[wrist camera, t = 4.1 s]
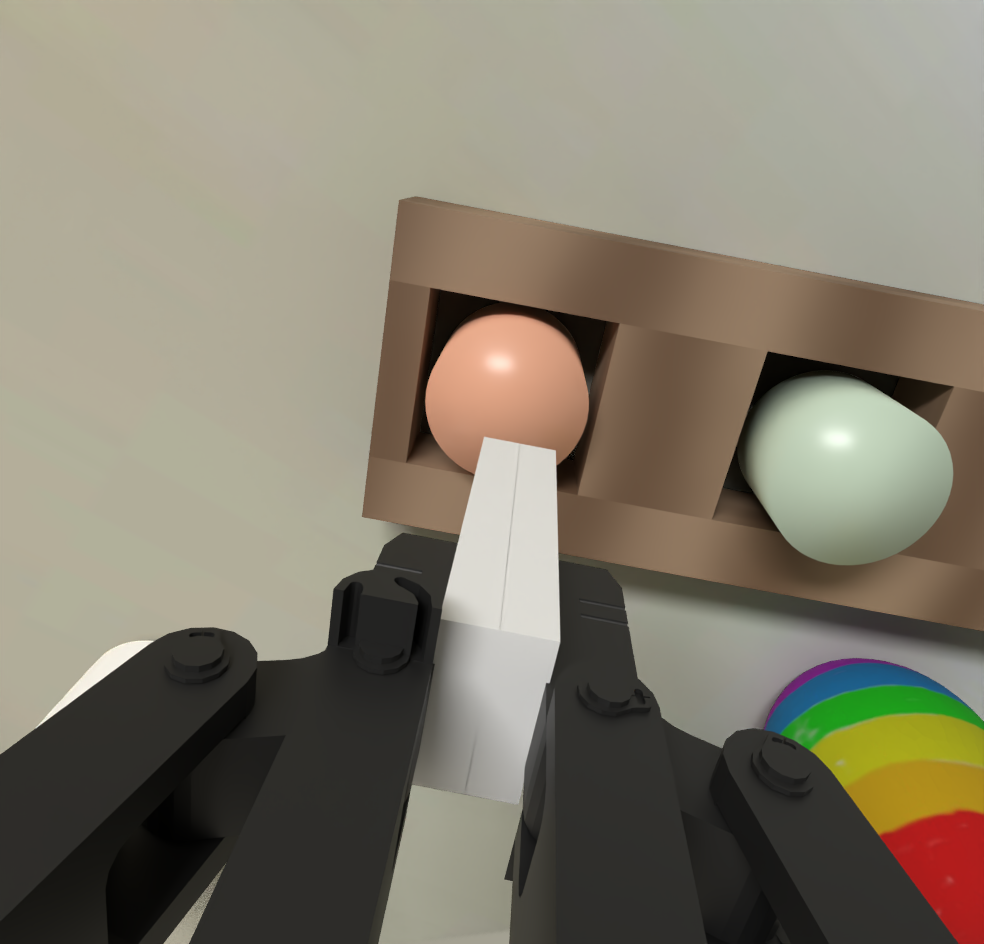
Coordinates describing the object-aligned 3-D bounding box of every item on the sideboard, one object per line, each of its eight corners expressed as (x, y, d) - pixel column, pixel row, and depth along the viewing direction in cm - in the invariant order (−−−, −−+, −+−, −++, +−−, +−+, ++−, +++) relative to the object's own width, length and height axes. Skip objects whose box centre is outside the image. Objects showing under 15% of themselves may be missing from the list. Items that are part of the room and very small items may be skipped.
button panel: (1273, 359, 23) (1372, 385, 20) (1114, 616, 27) (1180, 667, 24) (415, 196, 23) (399, 200, 20) (380, 480, 27) (362, 516, 24)
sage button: (915, 385, 22) (984, 424, 19) (858, 521, 24) (911, 578, 21) (764, 356, 22) (805, 391, 19) (718, 495, 24) (748, 549, 21)
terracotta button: (596, 316, 24) (605, 341, 20) (565, 450, 26) (569, 493, 22) (452, 289, 24) (437, 309, 20) (431, 426, 25) (415, 465, 22)
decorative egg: (707, 679, 29) (784, 911, 20) (908, 596, 27) (1096, 812, 18) (785, 811, 32) (886, 1073, 23) (974, 745, 30) (1170, 1001, 21)
